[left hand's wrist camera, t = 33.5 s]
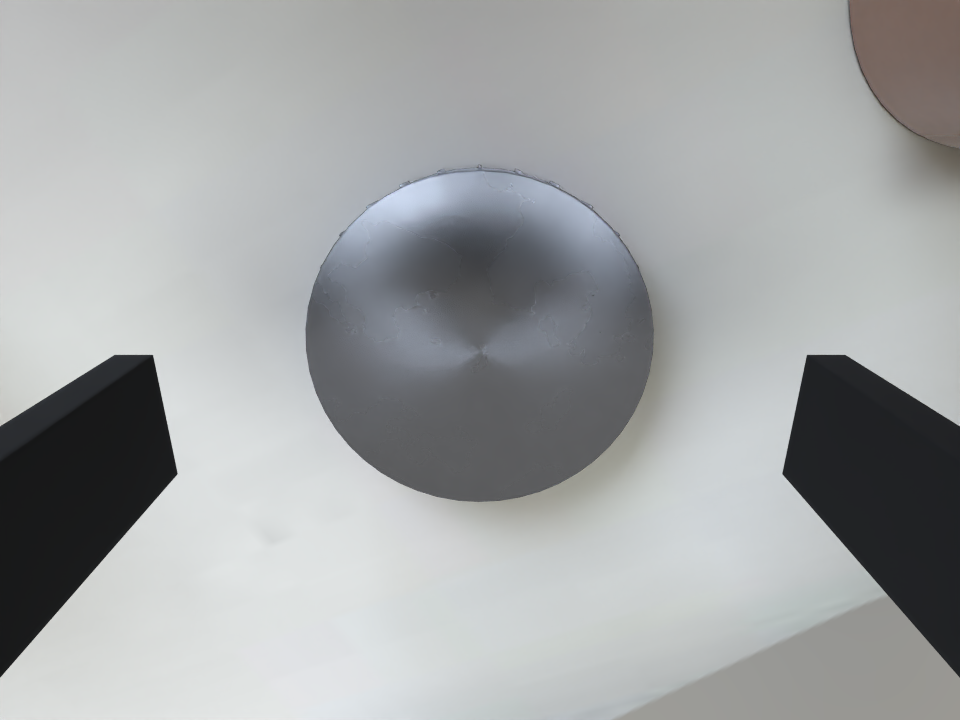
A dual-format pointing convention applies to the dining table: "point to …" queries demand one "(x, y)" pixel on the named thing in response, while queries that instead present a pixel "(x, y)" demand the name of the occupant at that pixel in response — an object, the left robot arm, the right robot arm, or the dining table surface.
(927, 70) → the jar
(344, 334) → the lid
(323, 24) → the dining table surface
